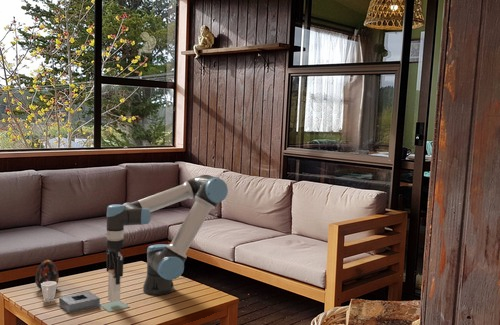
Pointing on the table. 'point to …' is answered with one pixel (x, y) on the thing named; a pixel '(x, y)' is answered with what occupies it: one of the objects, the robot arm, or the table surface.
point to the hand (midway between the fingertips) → (114, 289)
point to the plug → (112, 287)
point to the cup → (48, 290)
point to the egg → (46, 273)
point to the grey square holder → (79, 302)
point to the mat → (114, 306)
